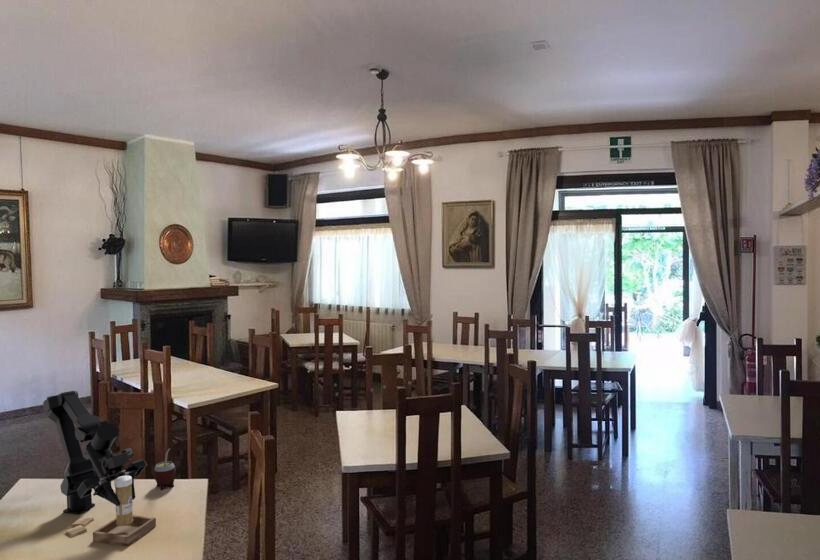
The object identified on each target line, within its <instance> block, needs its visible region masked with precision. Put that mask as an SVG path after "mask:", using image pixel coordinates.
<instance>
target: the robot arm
mask: <svg viewBox="0 0 820 560" xmlns="http://www.w3.org/2000/svg"><path fill="white" fill-rule="evenodd" d="M42 405H43V406H42V407H43V410H44V412H46V415H47V418H48V419H49V420H51V421H52V422H53V423H55V424H56V427H57V431H58V435H59V438H60V439H59V440H60V442H61V446H62V449H63V453H64V457H65V460H66V463H67V465H66V467H65V470H64V473H63V477H64V478H63V479H62V481H61V484H60V491H61V494H63V495H64V496H66V508H65V509H63V511H62V512H63V513H66V514H67V513H68V514H75V515H80V514H82V513H84V512H86V511H88V510H89V509H91V508H93V507H95V506H96V503H93V502H92V501H93V499H92V495H93V496H94V497H95V496H98V497H100V498H101V499H104V500H106V501H108V502H110V503H112V504H113V505H114V506H115V507H116V506H119V505H120V502H119V499H118V498H117V496H116V494H115V490H114V489H113V487H112V482H113V481H114V480H115V479H116V478H118V477H120V476H131V477H132V501H133V500H135V499H136V492H135V491H136V490H135V477H136V478H137V477H138V476H140V475H142V472H143V471H145V468H146V467H147V466H148V464H147V462H146V461H145V460H144V459H142V458H140V459H138V460H135V461H133V462H131V459H134V458H135V453H134V451H133V449H132V448H131V447H128V448H125V449H124V450H121V452H122V453H119V454H118V453H117V452H113V451H112V450H111V448H112V446H113V443H114V442H115V440H116V438H117V437H118V434H119V428H118V427H116V425H114V424H112V423H109V422H108V421H107V420H102V419H101V418H100V417H99V416H98V415H95V414H91V413H90V411H89V410H88V409H87V407H86V406H85V404H84V403H83V402H82V400H81V398H80V397H79V393H78V391H77V390H69V391H64V392H61V393H58V394H56V395H50V396H47V397H46V399H45V400H44V401H43V402H42ZM85 442H88V443H87V445H85V448H84V451H83V450H82V447H81V444H82V443H85ZM83 453H84V454H83ZM84 455H85V456H86V455H87V457H88V458H86V457H84ZM128 463H129V465H128V466H127V467H126V468H125V466H126V464H128ZM124 468H125V469H124ZM93 490H94V492H93V494H92V491H93Z"/></svg>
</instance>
